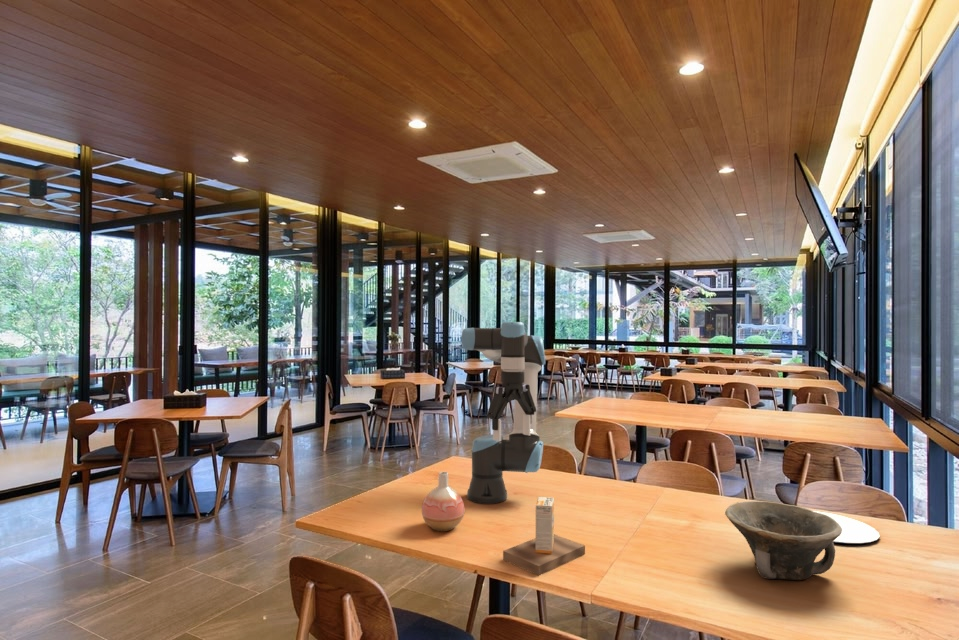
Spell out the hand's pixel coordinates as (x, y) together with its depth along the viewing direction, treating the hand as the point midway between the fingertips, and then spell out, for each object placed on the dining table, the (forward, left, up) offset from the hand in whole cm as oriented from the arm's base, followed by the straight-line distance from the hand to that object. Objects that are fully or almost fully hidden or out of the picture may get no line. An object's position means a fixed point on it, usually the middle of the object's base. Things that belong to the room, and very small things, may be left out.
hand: (512, 437), depth 171 cm
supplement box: (+7, +19, -27) cm, 34 cm away
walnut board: (+7, +19, -30) cm, 36 cm away
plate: (-77, +66, -30) cm, 106 cm away
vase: (+14, -17, -30) cm, 37 cm away
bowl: (-32, +68, -30) cm, 81 cm away
